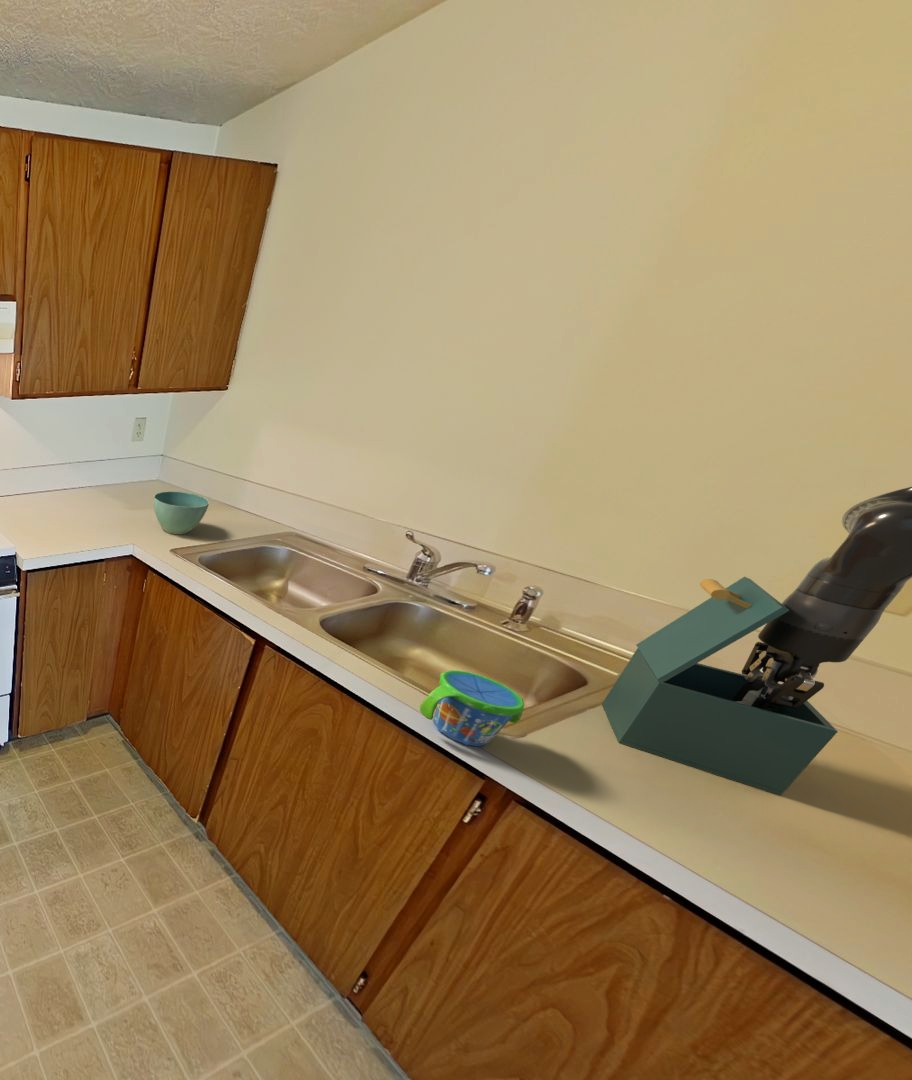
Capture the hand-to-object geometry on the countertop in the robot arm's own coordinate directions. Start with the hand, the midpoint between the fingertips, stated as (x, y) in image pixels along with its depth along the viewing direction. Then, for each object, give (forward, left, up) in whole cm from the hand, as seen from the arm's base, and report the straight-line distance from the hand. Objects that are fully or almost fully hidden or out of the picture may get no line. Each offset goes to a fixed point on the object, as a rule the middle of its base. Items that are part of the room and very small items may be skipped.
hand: (750, 711), depth 84 cm
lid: (+8, -1, +12) cm, 15 cm away
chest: (+4, 0, -10) cm, 11 cm away
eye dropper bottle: (0, 0, -7) cm, 7 cm away
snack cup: (+35, +19, -10) cm, 41 cm away
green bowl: (+103, -56, -10) cm, 118 cm away
